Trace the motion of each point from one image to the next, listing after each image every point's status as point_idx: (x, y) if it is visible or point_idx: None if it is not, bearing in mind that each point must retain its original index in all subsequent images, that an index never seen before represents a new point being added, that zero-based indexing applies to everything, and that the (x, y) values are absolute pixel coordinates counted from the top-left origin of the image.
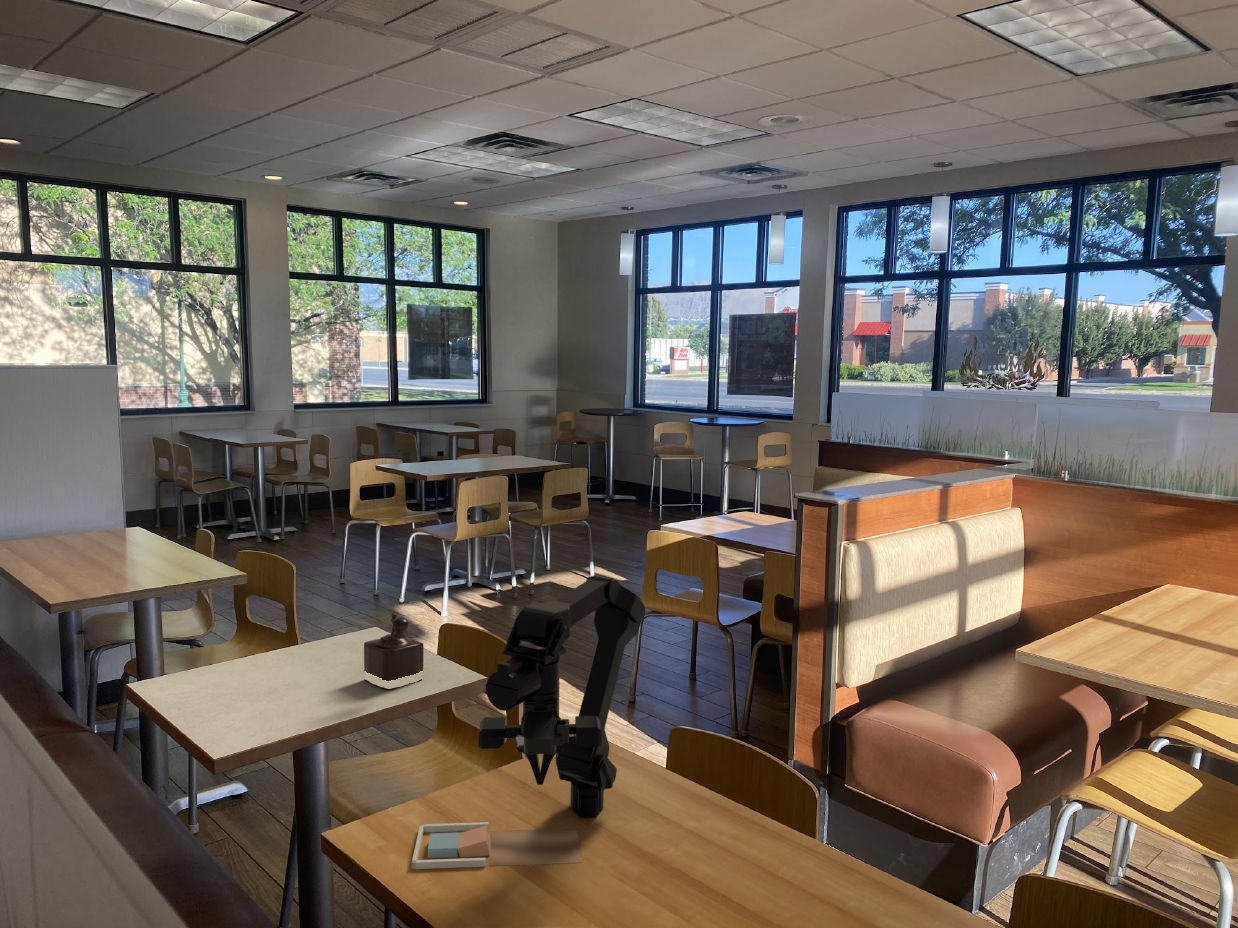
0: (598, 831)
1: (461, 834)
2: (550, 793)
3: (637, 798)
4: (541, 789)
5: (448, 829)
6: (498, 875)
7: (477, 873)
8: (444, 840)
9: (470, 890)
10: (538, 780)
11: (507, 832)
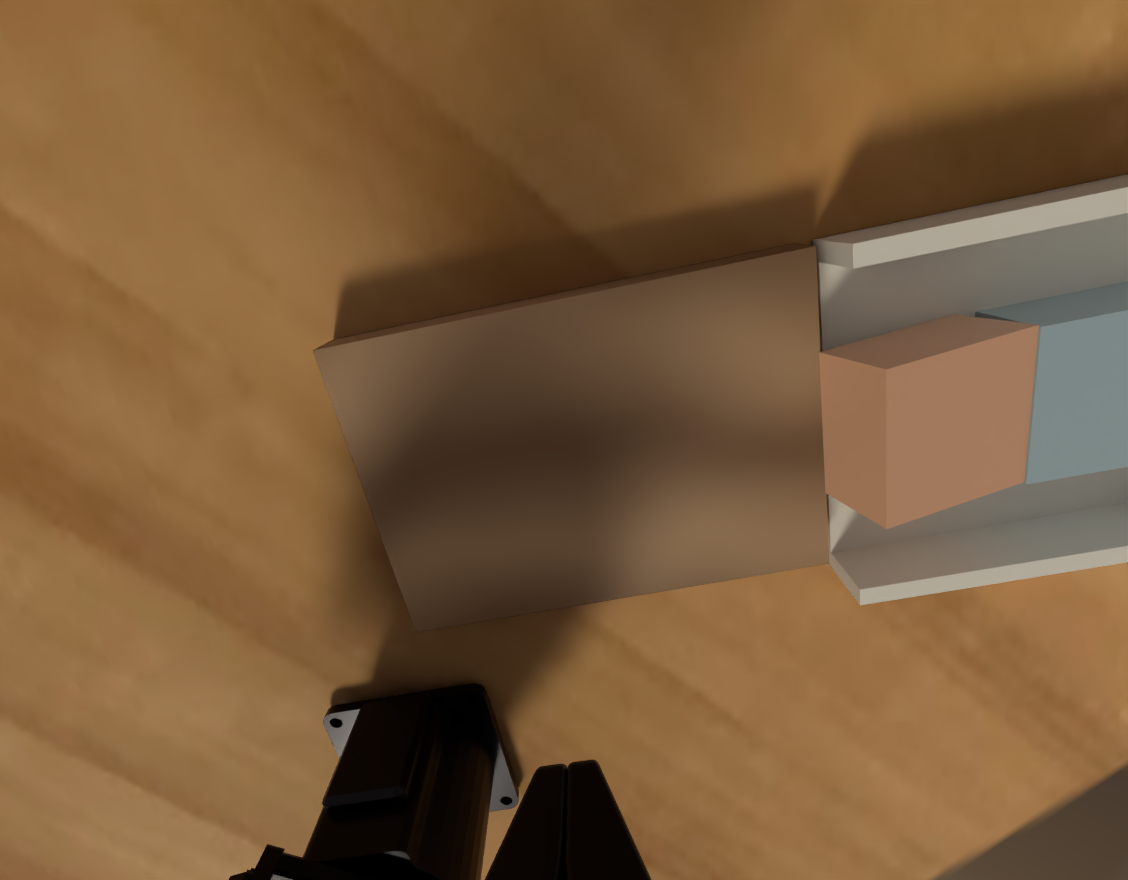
0: (346, 651)
1: (1014, 464)
2: None
3: None
4: None
5: (1056, 541)
6: (743, 248)
7: None
8: (1117, 394)
9: (883, 76)
10: (585, 806)
11: (747, 561)
